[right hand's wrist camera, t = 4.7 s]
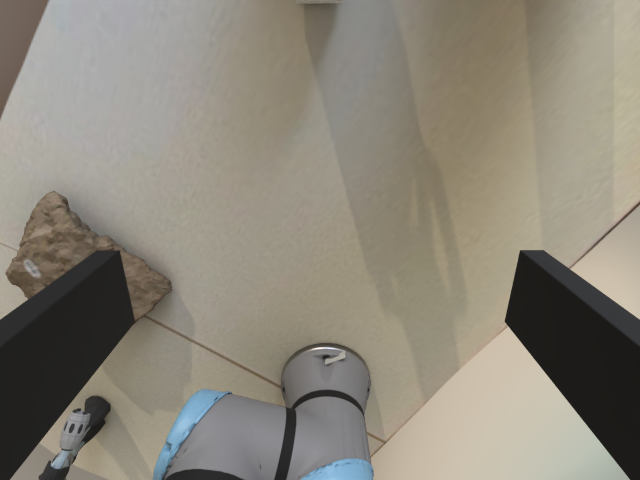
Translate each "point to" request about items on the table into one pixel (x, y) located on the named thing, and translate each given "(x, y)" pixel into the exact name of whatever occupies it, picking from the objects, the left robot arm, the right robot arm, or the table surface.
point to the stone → (75, 255)
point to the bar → (317, 1)
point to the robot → (76, 436)
